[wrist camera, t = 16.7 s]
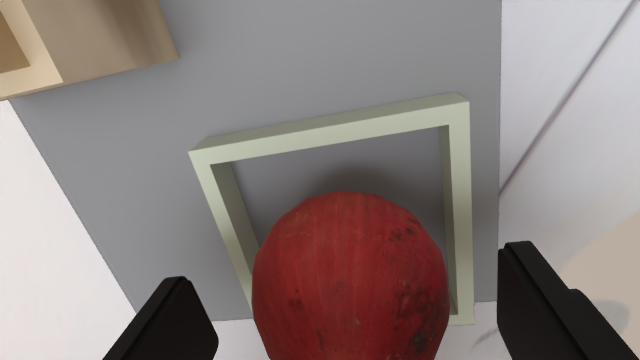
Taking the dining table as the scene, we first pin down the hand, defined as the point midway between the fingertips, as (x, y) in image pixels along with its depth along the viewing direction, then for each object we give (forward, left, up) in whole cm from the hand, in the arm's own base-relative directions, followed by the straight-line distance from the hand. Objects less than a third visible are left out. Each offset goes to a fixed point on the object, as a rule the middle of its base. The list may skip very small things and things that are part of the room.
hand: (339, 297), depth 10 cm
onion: (0, 0, -4) cm, 4 cm away
